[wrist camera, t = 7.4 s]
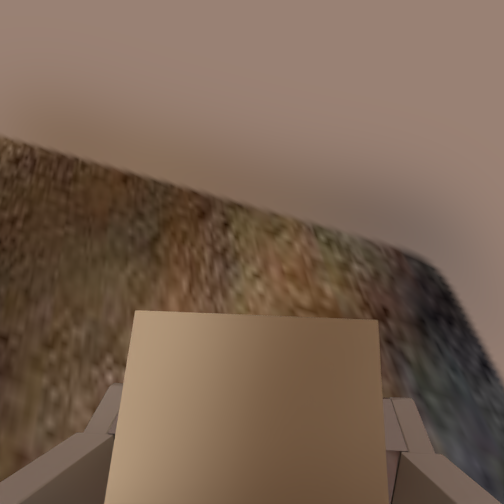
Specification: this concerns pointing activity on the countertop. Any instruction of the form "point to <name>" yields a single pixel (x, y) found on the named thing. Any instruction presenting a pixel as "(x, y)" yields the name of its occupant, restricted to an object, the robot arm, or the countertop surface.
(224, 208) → the countertop surface
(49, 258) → the countertop surface
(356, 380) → the pillar
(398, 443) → the robot arm
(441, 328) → the countertop surface
